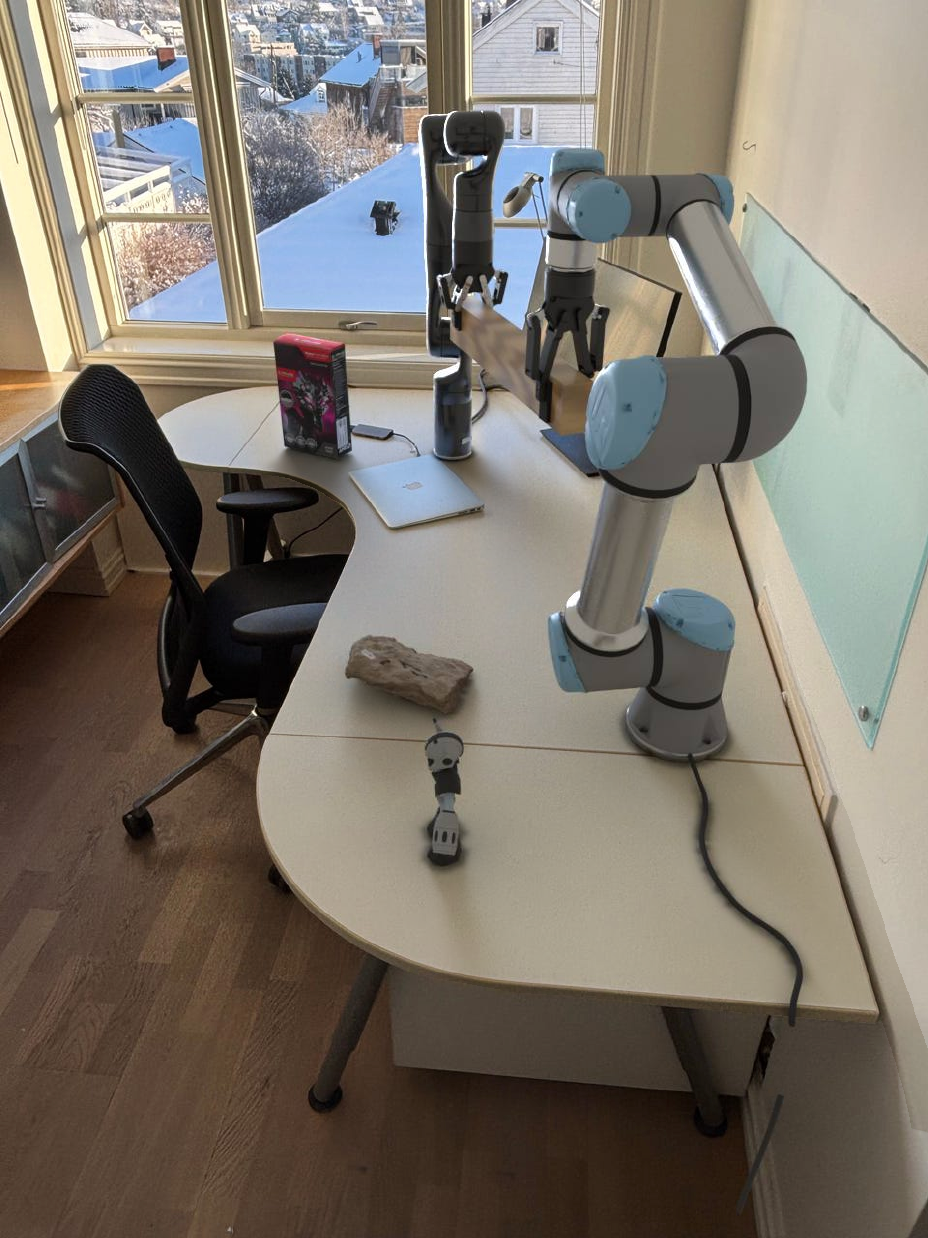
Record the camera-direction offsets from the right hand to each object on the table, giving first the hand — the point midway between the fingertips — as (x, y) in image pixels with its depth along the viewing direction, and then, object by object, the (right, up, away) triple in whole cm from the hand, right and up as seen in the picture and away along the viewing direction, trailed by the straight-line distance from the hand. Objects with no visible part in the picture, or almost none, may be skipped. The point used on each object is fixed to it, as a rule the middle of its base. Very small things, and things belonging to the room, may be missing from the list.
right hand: (560, 417), depth 148 cm
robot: (-18, -63, -24) cm, 70 cm away
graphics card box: (-52, +10, +83) cm, 99 cm away
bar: (-7, +10, +16) cm, 20 cm away
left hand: (-14, +24, +30) cm, 40 cm away
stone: (-25, -43, +4) cm, 50 cm away
